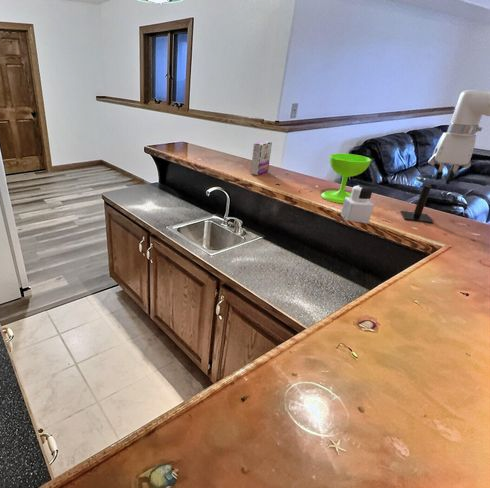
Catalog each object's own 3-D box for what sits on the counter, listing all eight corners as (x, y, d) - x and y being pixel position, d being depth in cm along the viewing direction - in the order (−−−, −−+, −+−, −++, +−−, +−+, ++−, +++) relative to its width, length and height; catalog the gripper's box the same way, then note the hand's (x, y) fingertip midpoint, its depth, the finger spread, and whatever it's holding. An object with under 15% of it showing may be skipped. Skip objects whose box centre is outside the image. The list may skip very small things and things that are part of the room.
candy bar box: (260, 170, 197) (264, 140, 190) (268, 172, 194) (272, 142, 187) (249, 174, 190) (253, 143, 183) (257, 175, 187) (262, 144, 179)
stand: (426, 217, 137) (438, 184, 131) (431, 226, 129) (445, 191, 123) (399, 214, 140) (410, 181, 134) (404, 222, 132) (416, 187, 126)
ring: (441, 179, 130) (443, 175, 129) (449, 186, 122) (451, 181, 121) (412, 177, 133) (414, 172, 132) (418, 183, 125) (420, 178, 124)
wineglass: (339, 190, 166) (349, 152, 157) (368, 201, 152) (380, 160, 144) (313, 194, 160) (321, 154, 152) (340, 205, 147) (351, 163, 139)
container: (360, 216, 136) (369, 184, 131) (368, 224, 130) (378, 190, 124) (340, 215, 137) (348, 183, 131) (347, 223, 130) (356, 189, 124)
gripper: (486, 129, 118) (465, 182, 127) (430, 126, 124) (413, 177, 132) (495, 133, 112) (472, 188, 120) (436, 129, 118) (418, 182, 126)
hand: (441, 182), depth 126 cm, fingers closed on ring, 2 cm apart
